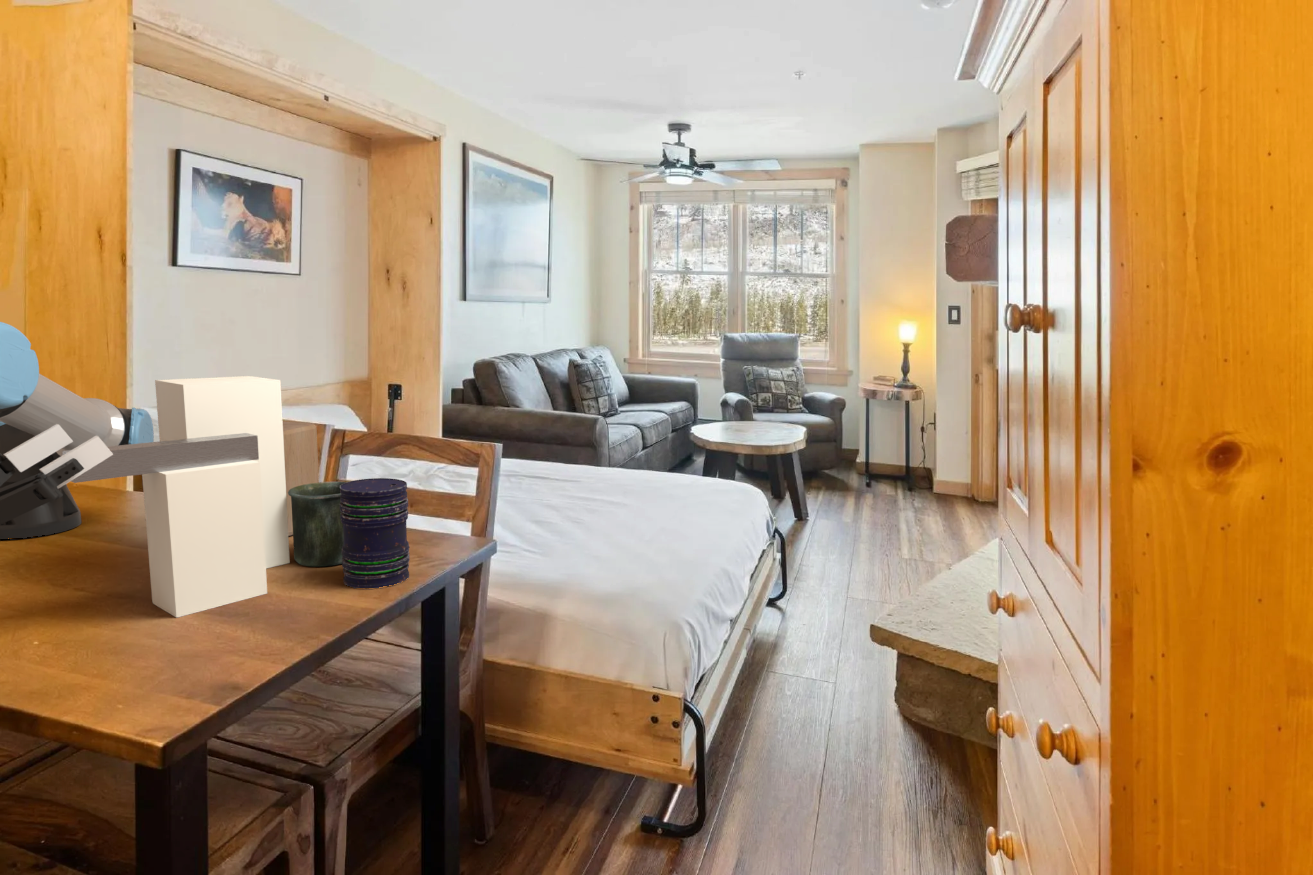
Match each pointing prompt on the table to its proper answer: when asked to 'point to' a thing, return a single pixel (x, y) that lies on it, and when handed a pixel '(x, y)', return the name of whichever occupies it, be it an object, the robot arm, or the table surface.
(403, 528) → the dark purple barrel
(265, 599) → the table surface
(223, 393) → the stand
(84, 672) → the table surface
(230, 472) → the step
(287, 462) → the block
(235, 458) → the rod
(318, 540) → the mug
